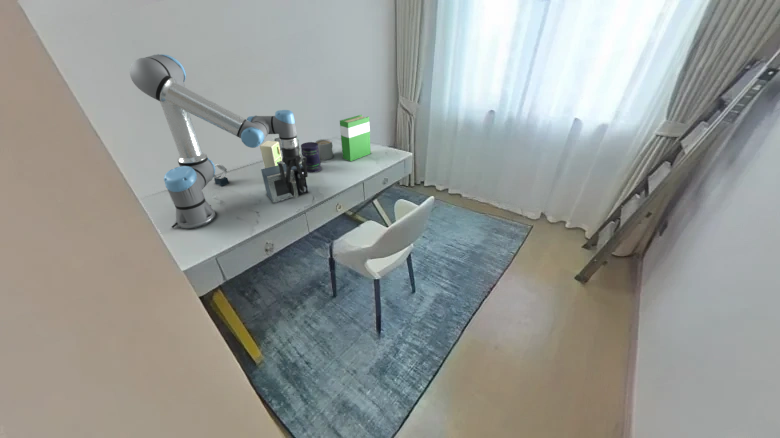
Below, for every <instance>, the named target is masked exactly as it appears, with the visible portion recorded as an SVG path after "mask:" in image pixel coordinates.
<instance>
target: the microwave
mask: <svg viewBox="0 0 780 438" xmlns="http://www.w3.org/2000/svg"><path fill="white" fill-rule="evenodd" d="M299 166H300V169H301V171H302V173H303V167H302V164H299ZM283 168H284V172H286V164H285V163H283ZM291 170H293V171H294V175H295V180H296V186H297V191H298V196H302V195H306V194H308V193H309V189H308V182H307V177H306V178H305V180H304V181H305V185H303V187H304V192H302V191H301V189H300V183H299V178H301V177H300V175H299V173H298V171H297V168H296V166H293V167H292V168H291ZM260 171H261V175H262V179H263V184H264V187H265V188H264V189H265V192H266V195H267V196H268V198H269V199H270V201H272V196H271V192H270V188H269V183H268V179H267V176H271V175H275V174H278V173H280V169H279V166H278V165H277V166H273V167H269V168H265V167H264V168H261V169H260Z"/></svg>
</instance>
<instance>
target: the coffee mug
mask: <svg viewBox="0 0 780 438" xmlns="http://www.w3.org/2000/svg"><path fill="white" fill-rule="evenodd" d="M315 143H317V144H318V148H319V159H320V161H327V160H331V159H333V157H334V155H333V142H332V140H331V139H329V138H327V139H326V138H321V139H318V140H316V141H315Z"/></svg>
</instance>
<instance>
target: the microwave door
mask: <svg viewBox="0 0 780 438" xmlns="http://www.w3.org/2000/svg"><path fill="white" fill-rule="evenodd" d="M284 174H285V179H286V172H284ZM267 179H268V183H269V188H270V192H271V196H272V200H271V202H272V203H273V204H275V203H279V202H282V201H285V200H288V199H291V198H294V199H296V198H299V195H298V191H297V186H296V180H295V175H294V171H293V170H291V175H290V182H291V183H292V187H293V193H294V195H291V193H290V189H288V188H287V184H286V183H284V182H283V181H282V179H281V174H280V173H278V174H275V175H271V176H267Z"/></svg>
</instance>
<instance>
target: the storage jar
mask: <svg viewBox="0 0 780 438" xmlns="http://www.w3.org/2000/svg"><path fill="white" fill-rule="evenodd" d="M315 142H316V141H315ZM315 142H313V141H309V142H304V143H302V144H300V152H301V155H302V157H303V156H304V157H306V158H307V161H306V166H307V173H310V174H311V173H318V172H320V171H321V170H322V166H321V159H319V148H318V144H317V143H315Z"/></svg>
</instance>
